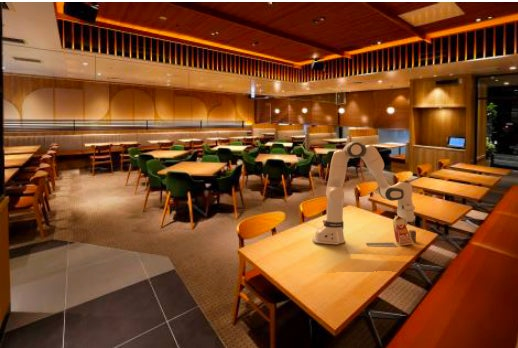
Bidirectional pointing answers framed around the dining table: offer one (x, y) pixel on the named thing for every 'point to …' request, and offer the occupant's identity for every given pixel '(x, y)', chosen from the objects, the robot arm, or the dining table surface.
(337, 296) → the dining table surface
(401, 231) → the milk carton
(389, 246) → the strip
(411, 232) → the walnut block
